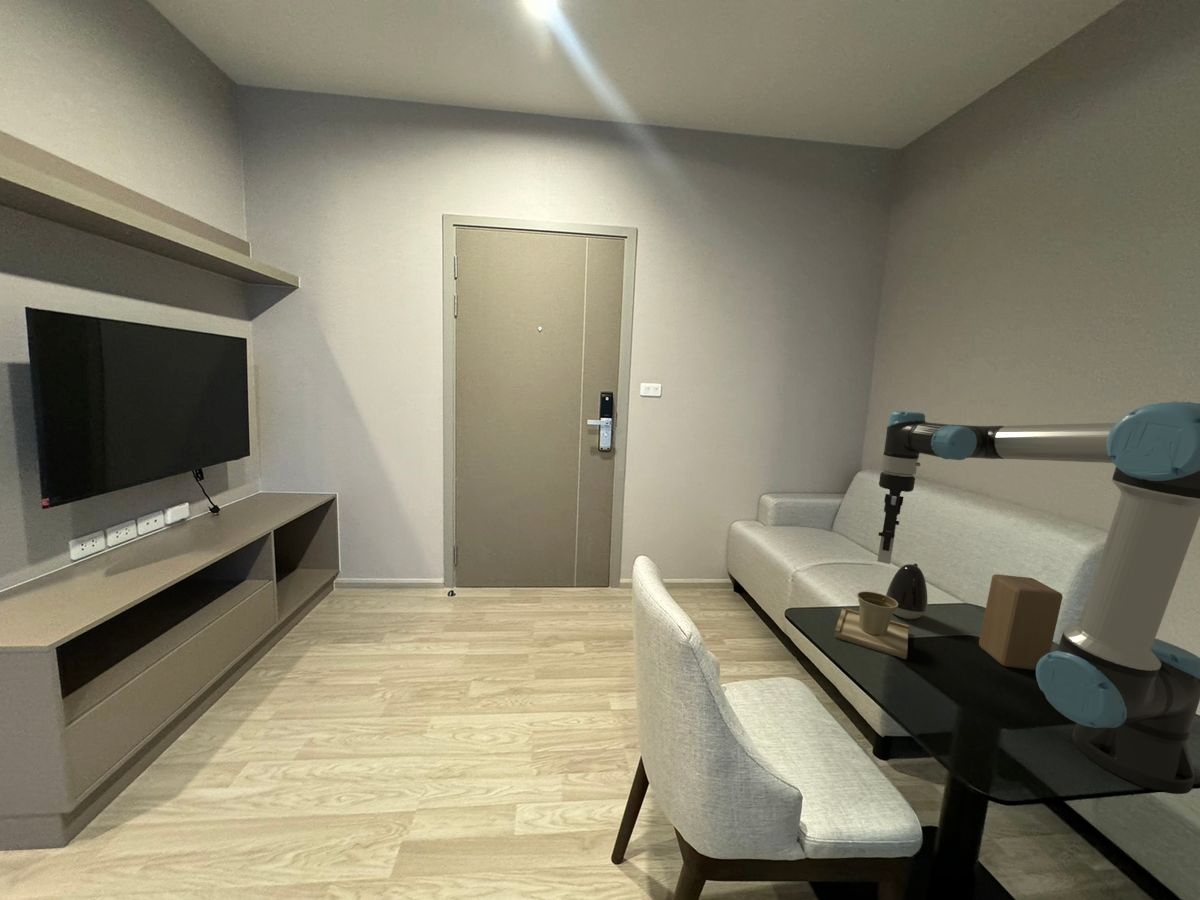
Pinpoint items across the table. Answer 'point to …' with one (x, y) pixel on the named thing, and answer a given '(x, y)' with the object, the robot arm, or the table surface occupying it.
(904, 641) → the board
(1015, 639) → the wooden block
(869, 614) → the flower pot
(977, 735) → the table surface
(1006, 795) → the table surface
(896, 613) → the black egg-shaped piece
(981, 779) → the table surface
